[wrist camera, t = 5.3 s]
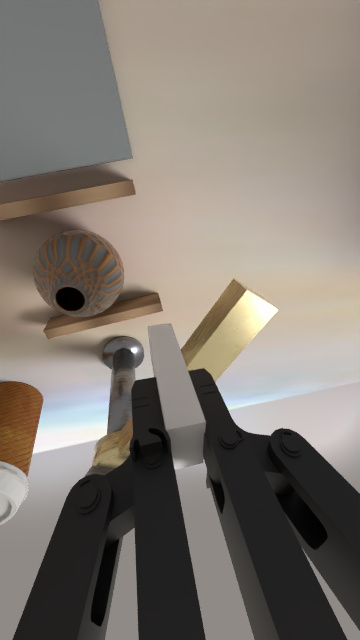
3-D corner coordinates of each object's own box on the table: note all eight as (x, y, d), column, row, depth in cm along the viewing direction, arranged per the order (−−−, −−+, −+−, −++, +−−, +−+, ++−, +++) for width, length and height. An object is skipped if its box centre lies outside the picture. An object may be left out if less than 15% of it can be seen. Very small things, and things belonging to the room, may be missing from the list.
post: (137, 332, 28) (145, 419, 17) (147, 361, 30) (158, 452, 20) (97, 342, 27) (80, 438, 17) (110, 371, 30) (102, 468, 20)
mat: (80, -78, 13) (78, -88, 12) (132, 158, 19) (132, 157, 18) (-131, -60, 12) (-142, -71, 11) (-5, 182, 18) (-9, 182, 17)
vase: (32, 258, 21) (-17, 298, 14) (84, 207, 20) (59, 221, 12) (91, 305, 25) (77, 357, 17) (138, 264, 23) (144, 301, 16)
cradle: (131, 180, 19) (132, 179, 17) (159, 300, 26) (162, 310, 24) (-13, 207, 18) (-31, 210, 16) (54, 325, 25) (48, 338, 23)
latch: (274, 304, 14) (321, 342, 11) (137, 464, 20) (139, 520, 17) (214, 265, 12) (249, 297, 9) (81, 458, 18) (71, 521, 15)
